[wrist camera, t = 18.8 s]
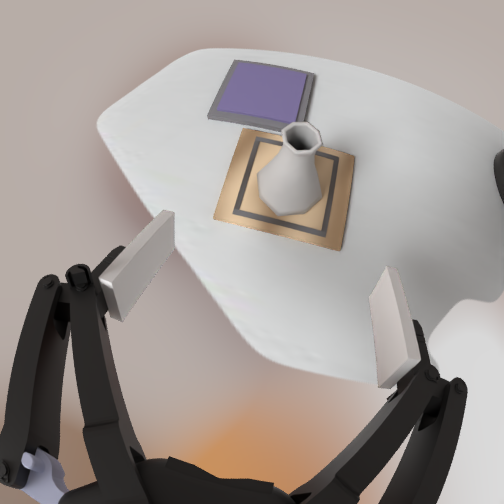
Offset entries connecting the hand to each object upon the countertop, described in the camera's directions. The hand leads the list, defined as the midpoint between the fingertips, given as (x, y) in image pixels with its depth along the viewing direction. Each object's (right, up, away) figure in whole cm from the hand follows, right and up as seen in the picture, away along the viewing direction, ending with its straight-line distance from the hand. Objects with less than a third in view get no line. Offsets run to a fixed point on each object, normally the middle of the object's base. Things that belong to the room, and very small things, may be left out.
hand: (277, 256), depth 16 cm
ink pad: (0, +22, +17) cm, 27 cm away
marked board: (+3, +8, +14) cm, 16 cm away
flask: (+3, +7, +14) cm, 16 cm away
